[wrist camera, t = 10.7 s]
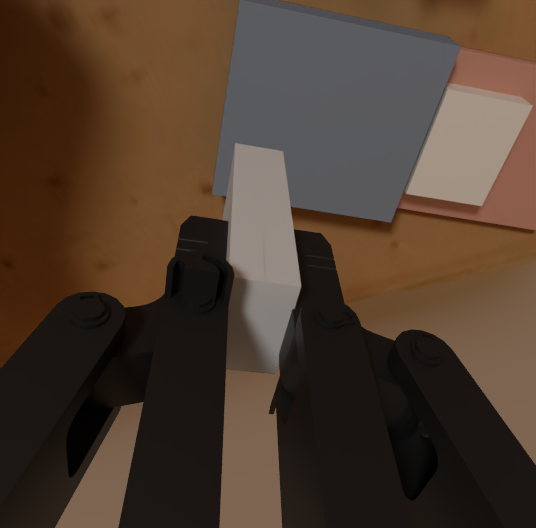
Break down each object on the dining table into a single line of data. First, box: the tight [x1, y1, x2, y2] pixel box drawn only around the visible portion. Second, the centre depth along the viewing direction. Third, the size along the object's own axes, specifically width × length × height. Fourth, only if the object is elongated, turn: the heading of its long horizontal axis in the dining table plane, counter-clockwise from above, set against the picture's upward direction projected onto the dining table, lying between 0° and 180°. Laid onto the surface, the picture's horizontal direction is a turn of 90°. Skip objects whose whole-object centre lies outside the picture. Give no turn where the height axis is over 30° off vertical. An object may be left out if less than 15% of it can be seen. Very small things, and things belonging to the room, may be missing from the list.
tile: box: [404, 83, 533, 206], centre depth 41 cm, size 7×9×2 cm
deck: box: [212, 0, 461, 222], centre depth 40 cm, size 16×15×3 cm
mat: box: [397, 47, 536, 230], centre depth 43 cm, size 15×14×1 cm
